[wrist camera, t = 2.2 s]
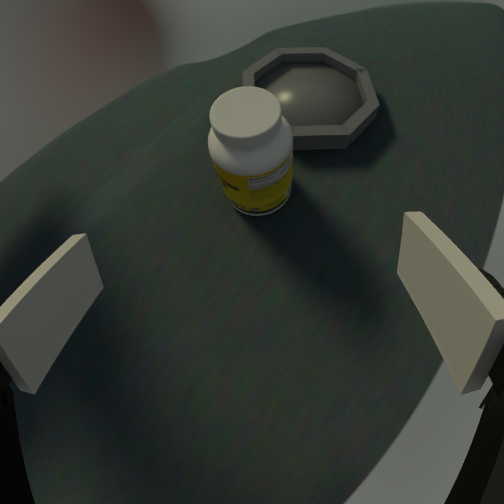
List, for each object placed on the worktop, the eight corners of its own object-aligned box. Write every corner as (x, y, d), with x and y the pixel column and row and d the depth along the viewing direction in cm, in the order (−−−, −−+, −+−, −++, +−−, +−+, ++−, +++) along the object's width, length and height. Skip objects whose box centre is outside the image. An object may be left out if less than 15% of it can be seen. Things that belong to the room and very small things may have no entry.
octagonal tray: (246, 153, 31) (243, 139, 29) (244, 65, 35) (242, 51, 33) (383, 149, 30) (389, 135, 28) (355, 62, 34) (357, 48, 32)
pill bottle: (217, 173, 31) (187, 96, 20) (276, 152, 31) (270, 68, 20) (238, 228, 29) (212, 161, 18) (302, 204, 29) (309, 128, 18)
